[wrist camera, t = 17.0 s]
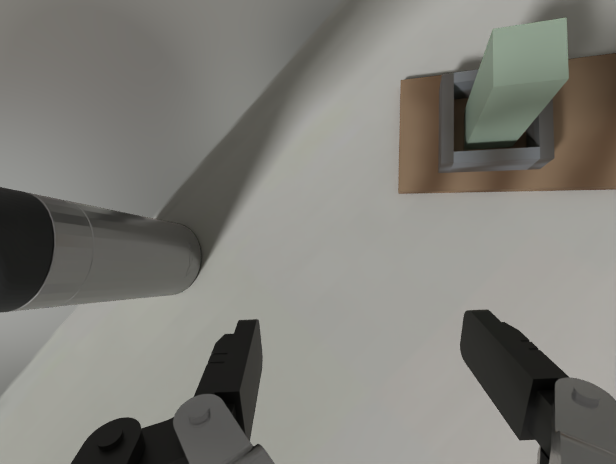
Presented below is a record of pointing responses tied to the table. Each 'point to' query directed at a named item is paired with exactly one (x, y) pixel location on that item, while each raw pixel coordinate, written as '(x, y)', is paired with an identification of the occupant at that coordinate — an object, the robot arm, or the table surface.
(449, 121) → the tool stand
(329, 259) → the table surface
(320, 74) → the table surface
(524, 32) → the peg block
